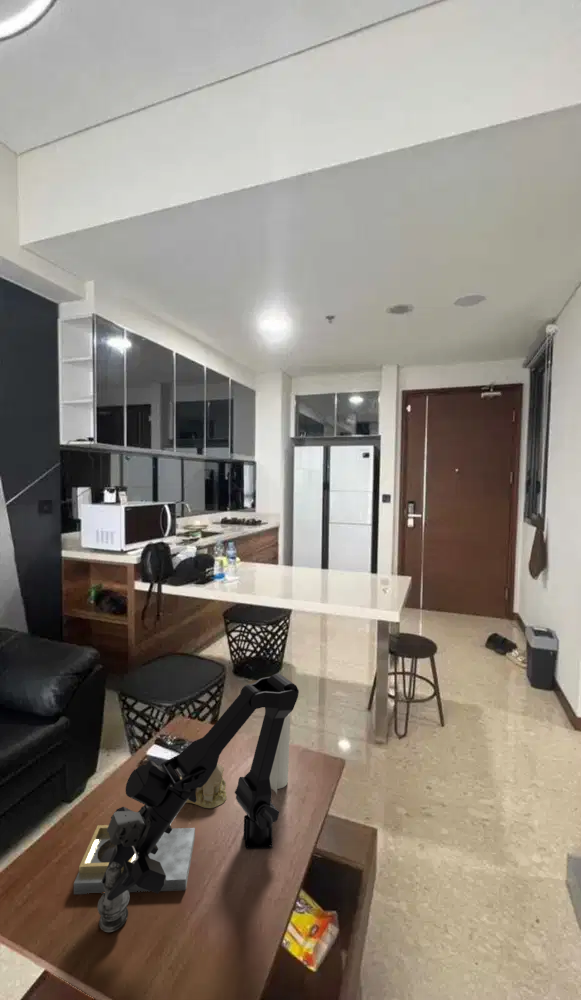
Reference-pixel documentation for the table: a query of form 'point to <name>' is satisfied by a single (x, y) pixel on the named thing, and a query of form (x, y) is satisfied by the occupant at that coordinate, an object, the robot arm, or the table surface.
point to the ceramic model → (211, 790)
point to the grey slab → (170, 855)
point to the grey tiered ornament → (113, 902)
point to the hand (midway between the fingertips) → (106, 890)
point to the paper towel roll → (281, 759)
